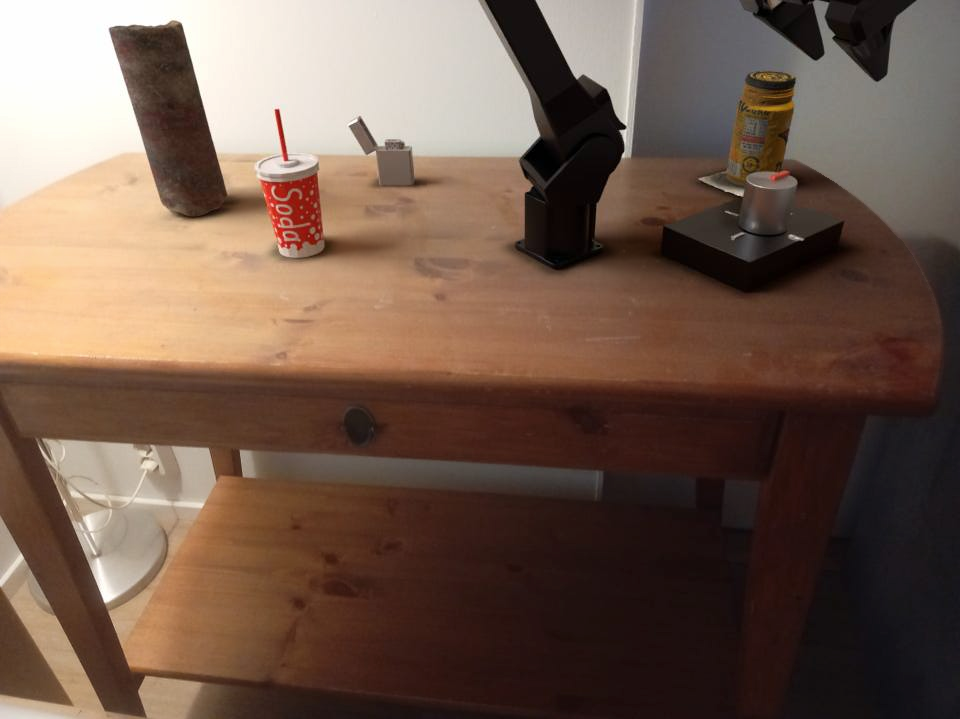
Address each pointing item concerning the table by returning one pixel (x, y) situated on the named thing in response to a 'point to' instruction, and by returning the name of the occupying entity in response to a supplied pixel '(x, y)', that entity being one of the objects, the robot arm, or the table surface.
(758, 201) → the hob knob
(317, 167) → the beverage cup
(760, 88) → the condiment
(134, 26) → the rough stone core
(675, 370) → the table surface
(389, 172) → the lighter
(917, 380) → the table surface
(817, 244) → the hob panel
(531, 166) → the robot arm
